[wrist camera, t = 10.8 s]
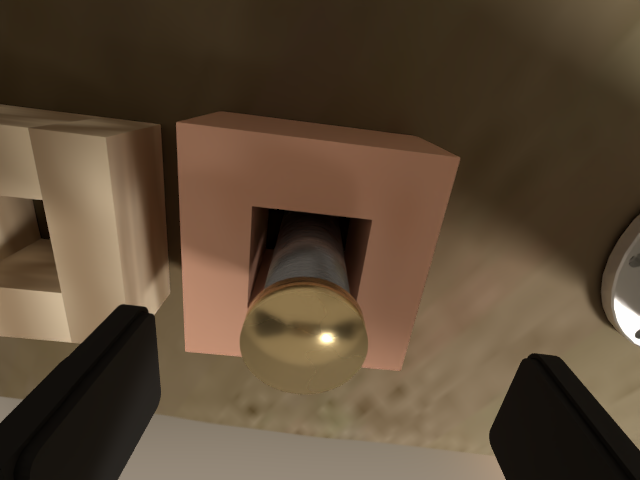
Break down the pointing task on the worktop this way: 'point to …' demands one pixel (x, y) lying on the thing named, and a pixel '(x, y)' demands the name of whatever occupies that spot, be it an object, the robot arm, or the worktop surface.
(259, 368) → the pin
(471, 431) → the worktop surface
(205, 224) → the dock
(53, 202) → the mount
